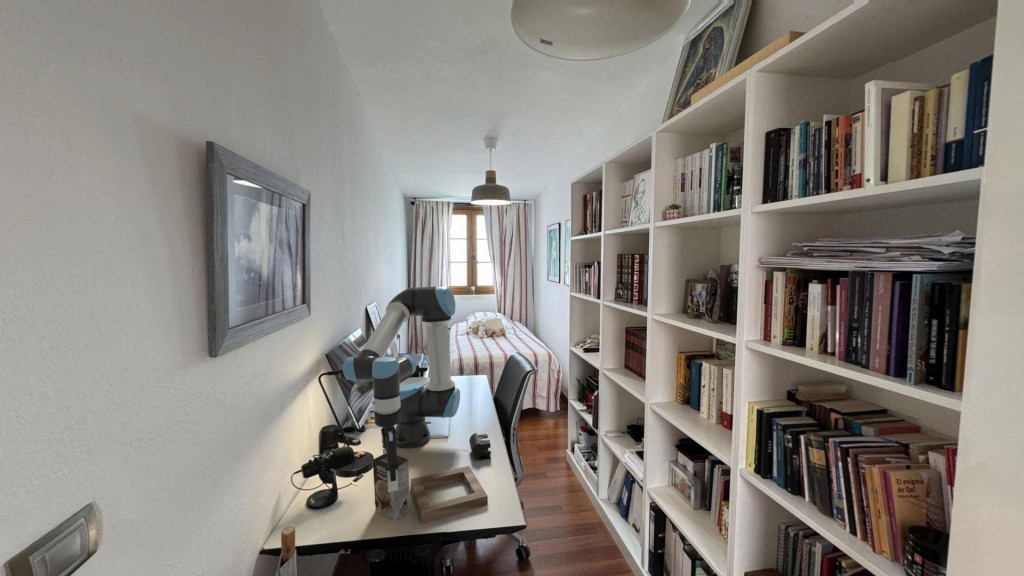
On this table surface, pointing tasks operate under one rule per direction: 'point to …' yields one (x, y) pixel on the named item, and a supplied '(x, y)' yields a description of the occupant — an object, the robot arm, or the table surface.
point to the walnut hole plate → (453, 505)
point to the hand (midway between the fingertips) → (390, 479)
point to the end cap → (480, 446)
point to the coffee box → (396, 500)
